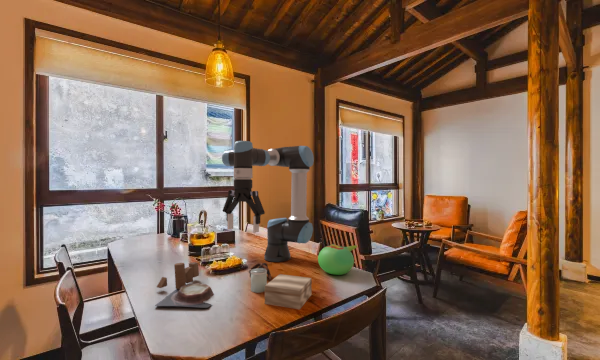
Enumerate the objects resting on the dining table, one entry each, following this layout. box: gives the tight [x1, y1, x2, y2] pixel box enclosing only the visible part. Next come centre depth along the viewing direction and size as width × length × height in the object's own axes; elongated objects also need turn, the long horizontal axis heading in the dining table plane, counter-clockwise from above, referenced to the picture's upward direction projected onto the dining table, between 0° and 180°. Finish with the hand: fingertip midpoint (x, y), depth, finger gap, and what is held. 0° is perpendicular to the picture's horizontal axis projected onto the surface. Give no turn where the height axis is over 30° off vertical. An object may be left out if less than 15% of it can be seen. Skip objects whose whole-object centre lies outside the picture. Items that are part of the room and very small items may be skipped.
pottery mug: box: [248, 262, 272, 281], centre depth 134 cm, size 12×9×8 cm
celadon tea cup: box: [250, 268, 268, 294], centre depth 121 cm, size 7×7×8 cm
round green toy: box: [317, 243, 358, 276], centre depth 142 cm, size 18×17×15 cm
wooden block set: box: [156, 261, 200, 290], centre depth 125 cm, size 18×9×10 cm, turn 149°
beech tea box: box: [264, 273, 312, 310], centre depth 112 cm, size 14×14×7 cm
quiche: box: [154, 282, 215, 309], centre depth 114 cm, size 21×20×4 cm
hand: (242, 230), depth 117 cm, fingers open, 13 cm apart
